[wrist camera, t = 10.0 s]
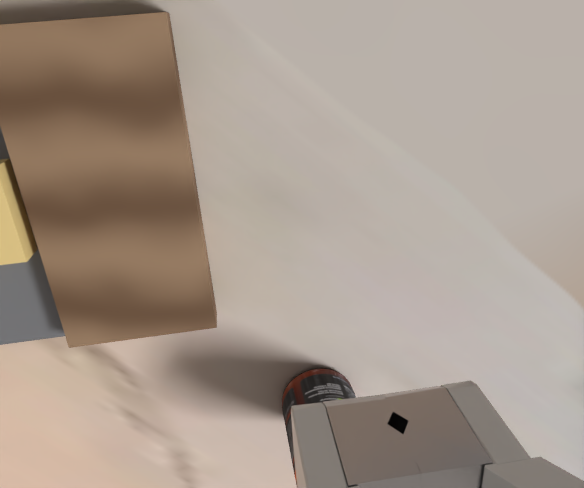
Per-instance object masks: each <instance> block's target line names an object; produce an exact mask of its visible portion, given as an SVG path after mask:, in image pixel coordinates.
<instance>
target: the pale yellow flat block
mask: <svg viewBox="0 0 584 488" xmlns="http://www.w3.org/2000/svg"><path fill="white" fill-rule="evenodd" d="M37 249H38V248H37V245H36V241H35V238H34V235H33V232H32V229H31V225H30V222H29V219H28V216H27V213H26V209H25V206H24V203H23V200H22V197H21V193H20V190H19V187H18V184H17V181H16V177H15V174H14V171H13V168H12V164H11V161H10V159H1V160H0V265H6V264H14V263H22V262H27V261H28V260H29V259H30V258H31V256H32V255H33V254H34V253H35V252H36V251H37Z"/></svg>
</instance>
